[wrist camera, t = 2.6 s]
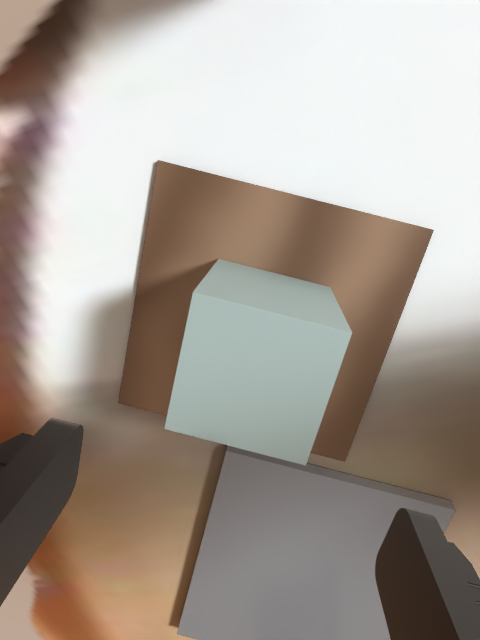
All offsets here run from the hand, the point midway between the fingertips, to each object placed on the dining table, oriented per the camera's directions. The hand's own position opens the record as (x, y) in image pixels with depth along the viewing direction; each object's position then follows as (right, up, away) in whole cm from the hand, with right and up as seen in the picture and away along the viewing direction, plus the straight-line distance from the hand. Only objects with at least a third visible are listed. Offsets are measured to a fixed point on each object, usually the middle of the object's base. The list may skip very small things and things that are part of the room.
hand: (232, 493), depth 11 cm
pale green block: (+1, +4, +13) cm, 13 cm away
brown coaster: (+1, +4, +13) cm, 14 cm away
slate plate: (+4, -12, +18) cm, 22 cm away
